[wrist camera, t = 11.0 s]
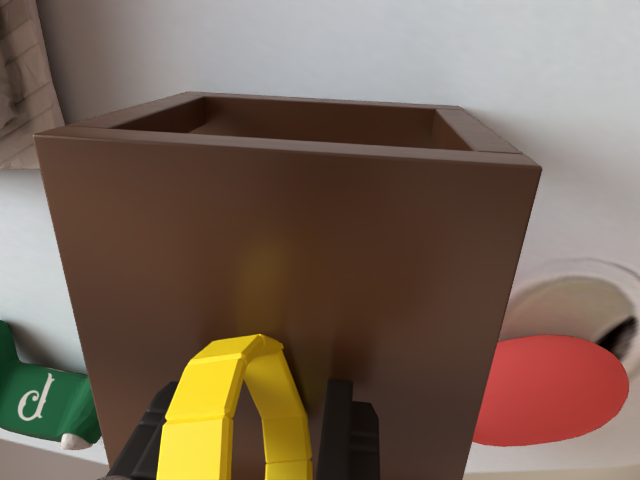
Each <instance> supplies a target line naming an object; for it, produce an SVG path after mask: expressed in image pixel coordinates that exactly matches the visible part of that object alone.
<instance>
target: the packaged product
mask: <svg viewBox="0 0 640 480" xmlns="http://www.w3.org/2000/svg"><path fill="white" fill-rule="evenodd" d="M61 126H65V123H64V120H63V116H62V113H61V109H60V106H59V102H58V99H57V95H56V92H55V89H54V85H53V82H52V78H51V73H50V68H49V63H48V58H47V53H46V48H45V43H44V39H43V34H42V29H41V24H40V19H39V15H38V10H37V5H36V0H0V168H4V169H40V167H39V163H38V158H37V154H36V150H35V145H34V141H33V134H36V133H39V132H43V131H46V130H50V129H54V128H57V127H61Z"/></svg>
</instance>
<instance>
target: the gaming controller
mask: <svg viewBox="0 0 640 480" xmlns="http://www.w3.org/2000/svg"><path fill="white" fill-rule="evenodd" d="M0 428H3V429H5V430H7V431H10V432H14V433H18V434H22V435H26V436H30V437H35V438H39V439H45V440H50V441H56V442H61V443H60V444H59V447H60V448H61V449H68V450H80V449H86V448H89V447H92V445H93V444H95V443H97V441H98V440H99V439H100V437H101V436H102V433H101V429H100V425H99V420H98V416H97V412H96V407H95V403H94V399H93V395H92V390H91V386H90V382H89V377H88V376H87V375H84V374H78V373H71V372H66V371H61V370H56V369H52V368H47V367H43V366H40V365H37V364H26V363H23V362H21V361H20V360H19V358H18V355H17V351H16V347H15V343H14V339H13V336H12V332H11V330H10V329H9V327H8V325H7V324H6V323H5V322H4V321H2V320H0Z"/></svg>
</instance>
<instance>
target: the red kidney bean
mask: <svg viewBox="0 0 640 480" xmlns="http://www.w3.org/2000/svg"><path fill="white" fill-rule="evenodd" d="M628 393H629V381H628V377H627V374H626V371H625V369H624V367H623V365H622V364H621V363H620V361H619V360H618V359H617V358H616V357H615V356H614V355H613V354H612V353H610V352H609V351H608V350H606V349H604V348H602V347H600V346H599V345H597V344H595V343H593V342H590V341H588V340H584V339H579V338H575V337H570V336H562V335H538V336H529V337H522V338H516V339H510V340H505V341H500V342H498V343H497V347H496V350H495V354H494V358H493V362H492V366H491V370H490V374H489V378H488V381H487V385H486V389H485V393H484V397H483V401H482V405H481V409H480V412H479V416H478V420H477V424H476V428H475V432H474V436H473V440H472V442H475V443H479V444H483V445H491V446H502V447H505V446H525V445H534V444H541V443H549V442H556V441H561V440H566V439H570V438H575V437H579V436H582V435H584V434H586V433H589V432H591V431H593V430H596V429H598V428H600V427H602V426H603V425H604V424H606V423H607V422H608V421H610V420H611V419H612V418H614V417H615V416H616V415H617V414H618V413H619V411H620V410H621V408H622V406H623V405H624V403H625V401H626V399H627V397H628Z"/></svg>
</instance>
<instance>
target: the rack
mask: <svg viewBox="0 0 640 480" xmlns="http://www.w3.org/2000/svg"><path fill="white" fill-rule="evenodd" d="M33 141H34V145H35V150H36V154H37V158H38V163H39V167H40V171H41V175H42V180H43V184H44V188H45V193H46V197H47V201H48V206H49V210H50V214H51V218H52V223H53V227H54V231H55V236H56V240H57V244H58V248H59V253H60V257H61V261H62V266H63V270H64V274H65V279H66V283H67V287H68V291H69V296H70V300H71V304H72V309H73V313H74V317H75V321H76V326H77V330H78V334H79V339H80V343H81V347H82V352H83V356H84V360H85V364H86V369H87V373H88V377H89V382H90V386H91V390H92V395H93V399H94V403H95V407H96V412H97V416H98V420H99V425H100V429H101V433H102V437H103V442H104V446H105V450H106V455H107V459H108V463H109V468H110V469H111V467H112V466H113V464H114V462H115V461H116V459H117V457H118V456H119V454H120V452H121V451H122V449H123V448H124V446H125V444H126V443H127V441H128V439H129V438H130V436H131V434H132V433H133V431H134V429H135V428H136V426H137V425H139V421H140V420H141V418H142V416H143V415H144V413H145V412H147V408H148V406H149V405H150V403H151V401H152V400H153V398H154V397H155V395H156V393H158V392H159V391H160V390H161V389H162V388H164V387H165V386H166V385H167V384H168V383H170V382H171V381H176V382H180V379H181V377H182V374H183V372H184V369H185V368H186V366H187V365H188V363H189V362H190V360H191V359H192V358H193V357H195V356H196V355H197V354H198V353H199V352H201V351H202V350H203V349H204V348H205V347H207V346H208V345H209V344H210V343H211V342H213V341H216V340H222V339H229V338H236V337H243V336H250V335H257V334H263V335H265V336H268V337H270V338H273V339H275V340H277V341H278V342H280V343H282V344H283V347H284V349H282V351H283V354H284V357H285V359H286V362H287V364H288V367H289V370H290V372H291V375H292V377H293V380H294V383H295V385H296V388H297V390H298V393H299V396H300V398H301V401H302V403H303V406H304V409H305V411H306V413H307V417H308V426H309V434H310V443H311V451H312V457H311V459H310V461H311V462H312V463H313V480H316V472H317V464H318V456H319V448H320V440H321V431H322V423H323V415H324V407H325V399H326V391H327V383H328V379H336V380H346V381H353V400H352V401H359V402H368V403H371V404H372V406H373V408H374V410H375V412H376V414H377V416H378V418H379V445H380V451H379V453H380V480H462V478H463V475H464V471H465V467H466V463H467V459H468V455H469V451H470V447H471V444H472V440H473V436H474V432H475V428H476V424H477V420H478V416H479V412H480V409H481V405H482V401H483V397H484V393H485V389H486V385H487V381H488V378H489V374H490V370H491V366H492V362H493V358H494V354H495V350H496V347H497V343H498V339H499V335H500V331H501V327H502V323H503V319H504V315H505V312H506V308H507V304H508V300H509V296H510V292H511V288H512V284H513V281H514V277H515V273H516V269H517V265H518V261H519V257H520V253H521V250H522V246H523V242H524V238H525V234H526V230H527V226H528V222H529V218H530V215H531V211H532V207H533V203H534V199H535V195H536V191H537V187H538V184H539V180H540V176H541V172H542V167H541V166H540V165H539V164H537V163H536V162H535V161H533V160H532V159H530V158H529V157H528V156H526V155H524V154H523V153H522V152H520V151H519V150H518V149H516V148H515V147H513V146H512V145H511V144H509V143H508V142H507V141H505V140H504V139H502V138H501V137H500V136H498V135H497V134H496V133H494V132H493V131H492V130H490V129H489V128H487V127H486V126H485V125H483V124H482V123H481V122H479V121H478V120H476V119H475V118H474V117H472V116H471V115H470V114H468V113H467V112H465V111H464V110H463V109H462V108H460V107H459V106H445V105H427V104H408V103H390V102H371V101H353V100H335V99H316V98H298V97H279V96H261V95H242V94H224V93H205V92H185V93H181V94H178V95H174V96H170V97H166V98H163V99H159V100H155V101H152V102H148V103H144V104H141V105H137V106H133V107H130V108H126V109H122V110H119V111H115V112H111V113H108V114H104V115H100V116H97V117H93V118H90V119H86V120H82V121H79V122H75V123H71V124H68V125H65V126H61V127H57V128H54V129H50V130H46V131H43V132H39V133H36V134H33ZM232 420H233V437H232V460H231V480H265V470H266V464H267V463H266V459H265V449H264V438H263V428H262V418H261V416H260V414H259V411H258V409H257V407H256V405H255V403H254V400H253V398H252V396H251V394H250V392H249V389H248V387H247V385H246V383H245V381H244V379H243V383H242V386H241V390H240V394H239V398H238V402H237V406H236V410H235V413H234V416H233V418H232Z"/></svg>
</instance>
